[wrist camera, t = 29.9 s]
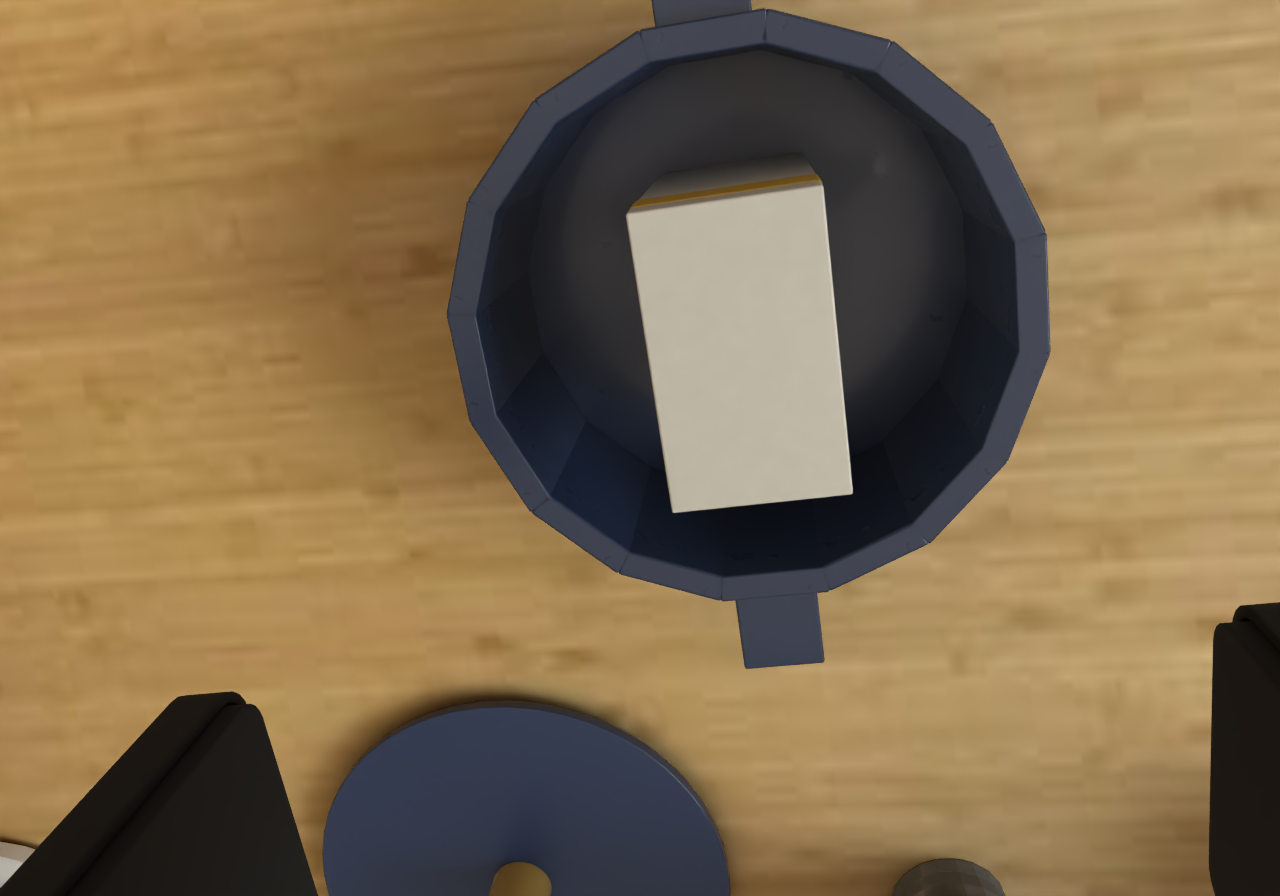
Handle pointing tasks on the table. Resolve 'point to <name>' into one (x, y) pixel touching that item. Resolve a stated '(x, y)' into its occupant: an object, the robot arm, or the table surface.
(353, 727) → the table surface
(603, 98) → the tin
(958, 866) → the beverage cup
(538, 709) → the tin lid
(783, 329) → the packet
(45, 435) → the table surface
